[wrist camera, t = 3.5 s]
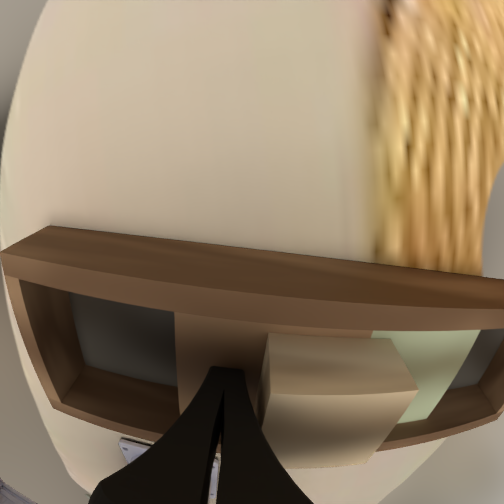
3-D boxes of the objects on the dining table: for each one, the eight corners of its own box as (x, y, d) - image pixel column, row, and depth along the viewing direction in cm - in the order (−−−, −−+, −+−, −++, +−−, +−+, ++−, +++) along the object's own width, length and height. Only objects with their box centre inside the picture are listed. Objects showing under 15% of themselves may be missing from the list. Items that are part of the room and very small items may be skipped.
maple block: (352, 415, 12) (365, 463, 9) (252, 414, 12) (250, 467, 9) (390, 338, 10) (419, 390, 8) (268, 332, 10) (270, 393, 7)
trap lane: (476, 389, 15) (496, 419, 12) (78, 369, 15) (53, 408, 11) (531, 283, 12) (563, 308, 9) (48, 225, 12) (-1, 252, 8)
